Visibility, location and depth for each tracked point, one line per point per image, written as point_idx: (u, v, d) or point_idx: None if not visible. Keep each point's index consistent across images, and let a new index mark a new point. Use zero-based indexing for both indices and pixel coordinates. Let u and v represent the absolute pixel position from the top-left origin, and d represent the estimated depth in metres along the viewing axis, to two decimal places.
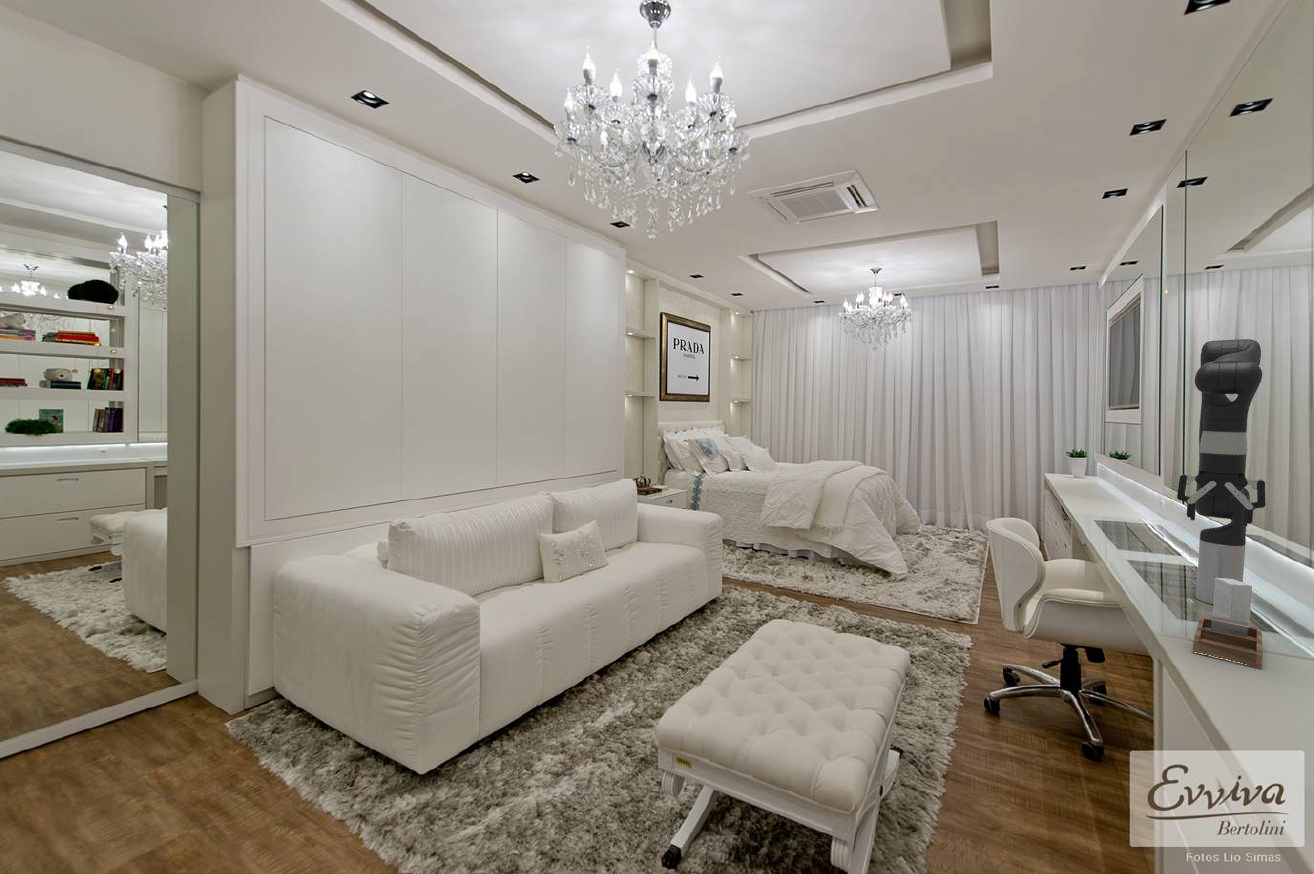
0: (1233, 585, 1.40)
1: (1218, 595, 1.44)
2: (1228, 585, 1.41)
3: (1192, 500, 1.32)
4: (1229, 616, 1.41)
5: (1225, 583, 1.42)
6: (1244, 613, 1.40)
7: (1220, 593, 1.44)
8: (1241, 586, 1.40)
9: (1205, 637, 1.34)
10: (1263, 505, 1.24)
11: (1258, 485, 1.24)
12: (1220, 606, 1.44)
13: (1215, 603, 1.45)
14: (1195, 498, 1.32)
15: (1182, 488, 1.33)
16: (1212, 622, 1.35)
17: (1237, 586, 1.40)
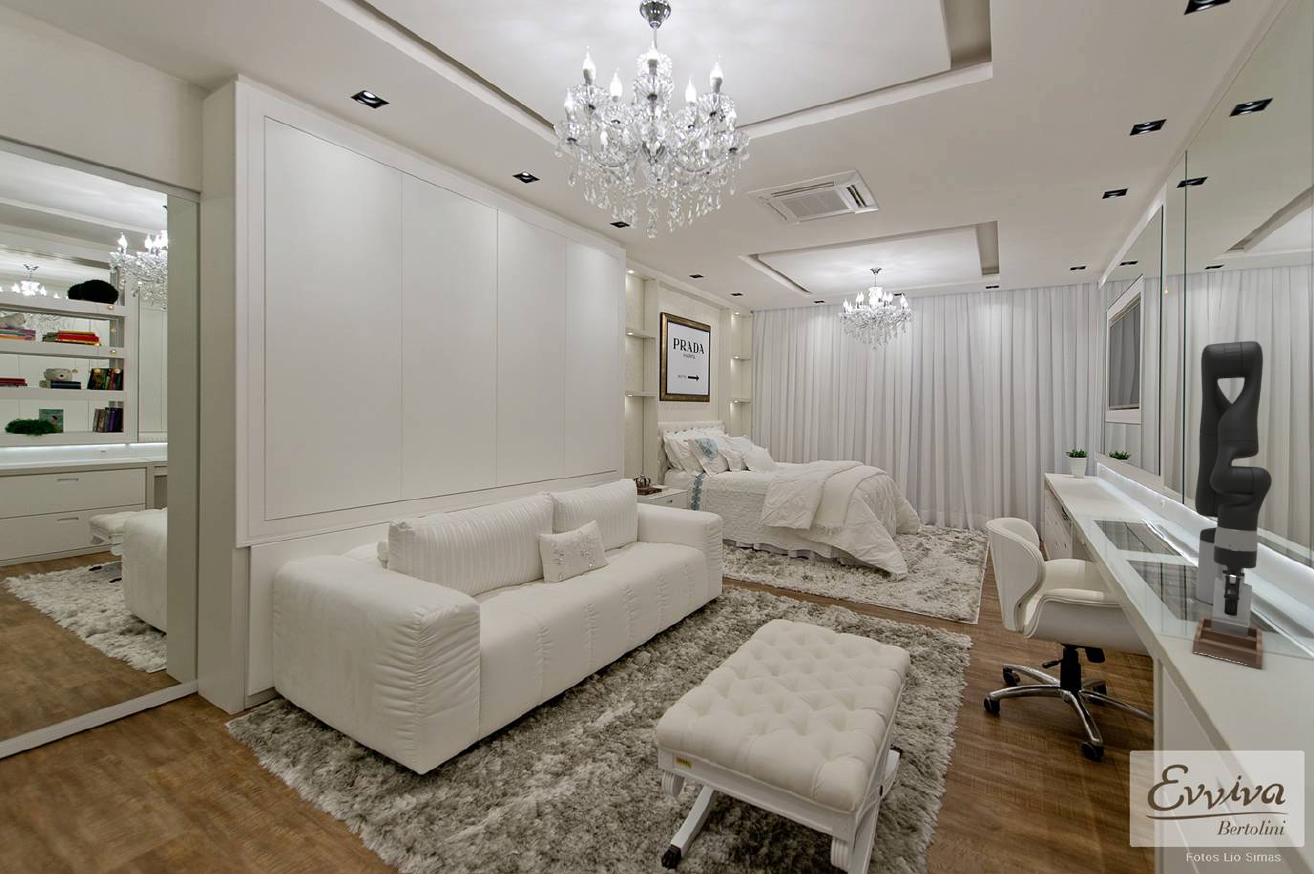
0: None
1: (1218, 595, 1.44)
2: None
3: None
4: (1229, 616, 1.41)
5: None
6: (1244, 613, 1.40)
7: (1220, 593, 1.44)
8: None
9: (1205, 637, 1.34)
10: None
11: (1240, 571, 1.46)
12: (1220, 606, 1.44)
13: (1215, 603, 1.45)
14: None
15: (1239, 588, 1.38)
16: (1212, 622, 1.35)
17: None
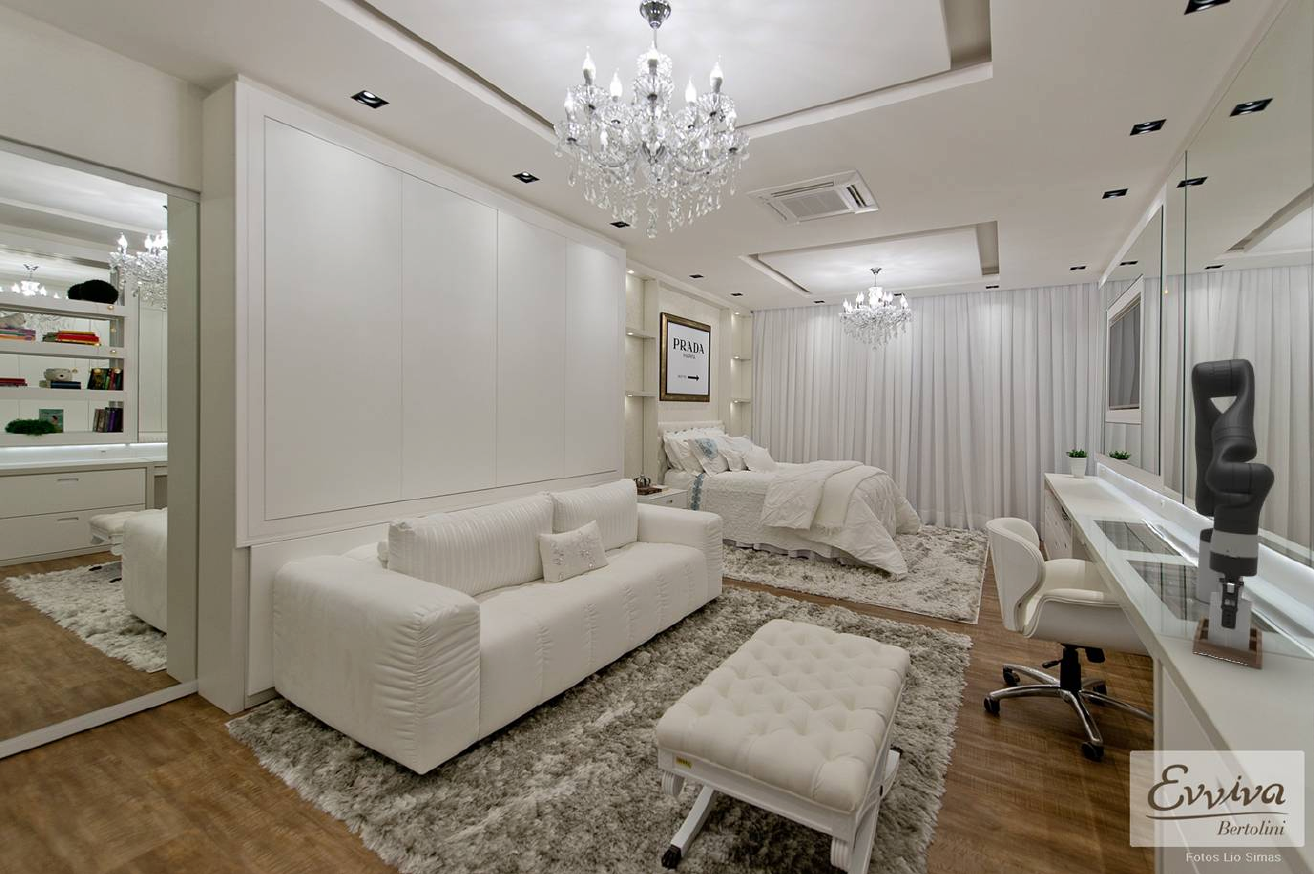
0: None
1: (1214, 611, 1.30)
2: None
3: None
4: (1226, 635, 1.26)
5: None
6: (1243, 632, 1.25)
7: (1216, 609, 1.29)
8: None
9: (1205, 637, 1.34)
10: None
11: (1239, 577, 1.31)
12: (1216, 623, 1.29)
13: (1211, 620, 1.31)
14: (1237, 605, 1.24)
15: (1238, 598, 1.23)
16: None
17: None
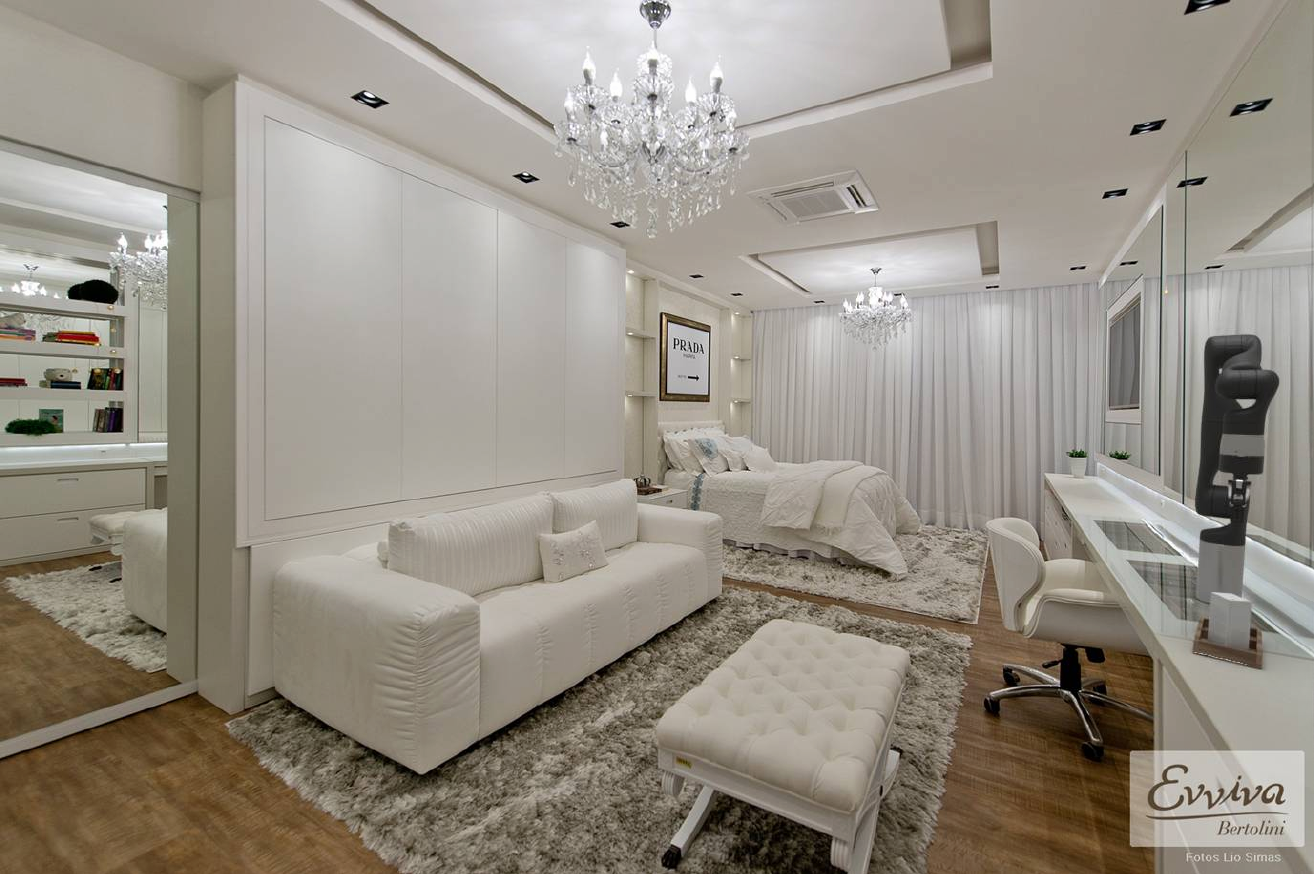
0: (1231, 601, 1.26)
1: (1214, 611, 1.30)
2: (1225, 601, 1.27)
3: None
4: (1226, 635, 1.26)
5: (1222, 598, 1.28)
6: (1243, 632, 1.25)
7: (1216, 609, 1.29)
8: (1240, 602, 1.25)
9: (1205, 637, 1.34)
10: None
11: None
12: (1216, 623, 1.29)
13: (1211, 620, 1.31)
14: (1245, 501, 1.34)
15: (1245, 493, 1.33)
16: None
17: (1235, 602, 1.25)
